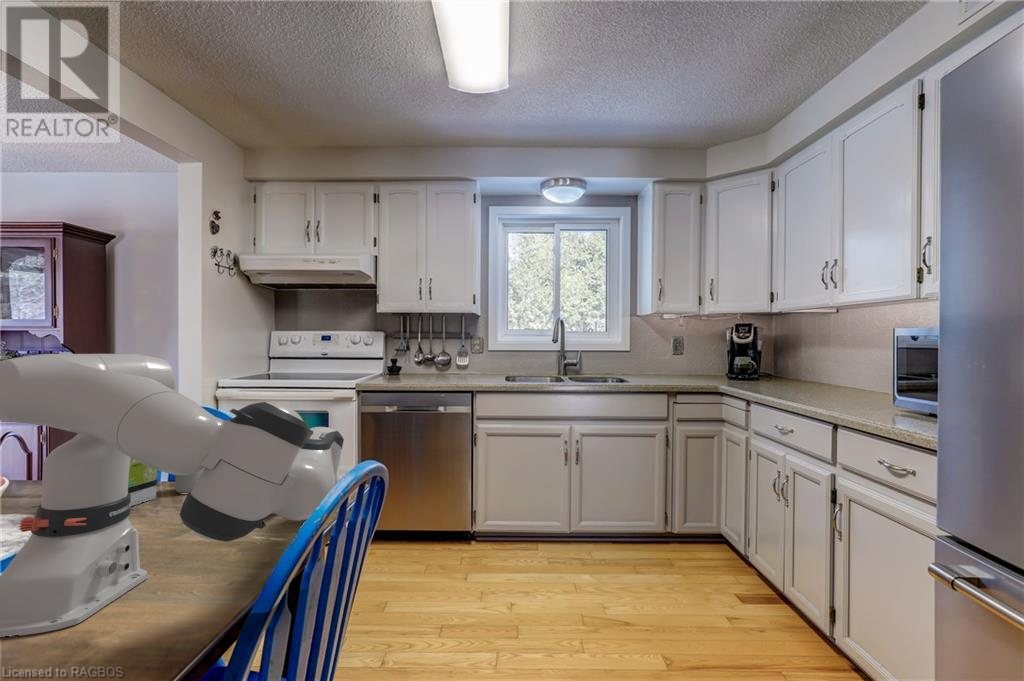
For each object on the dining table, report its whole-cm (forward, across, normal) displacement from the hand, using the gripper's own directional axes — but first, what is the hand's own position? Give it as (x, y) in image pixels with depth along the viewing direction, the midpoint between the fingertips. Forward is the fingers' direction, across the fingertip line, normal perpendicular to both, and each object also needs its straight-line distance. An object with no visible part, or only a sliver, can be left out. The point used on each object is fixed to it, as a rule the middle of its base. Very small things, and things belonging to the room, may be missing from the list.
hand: (252, 476), depth 125 cm
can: (+22, +6, -7) cm, 24 cm away
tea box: (+31, -9, -7) cm, 33 cm away
